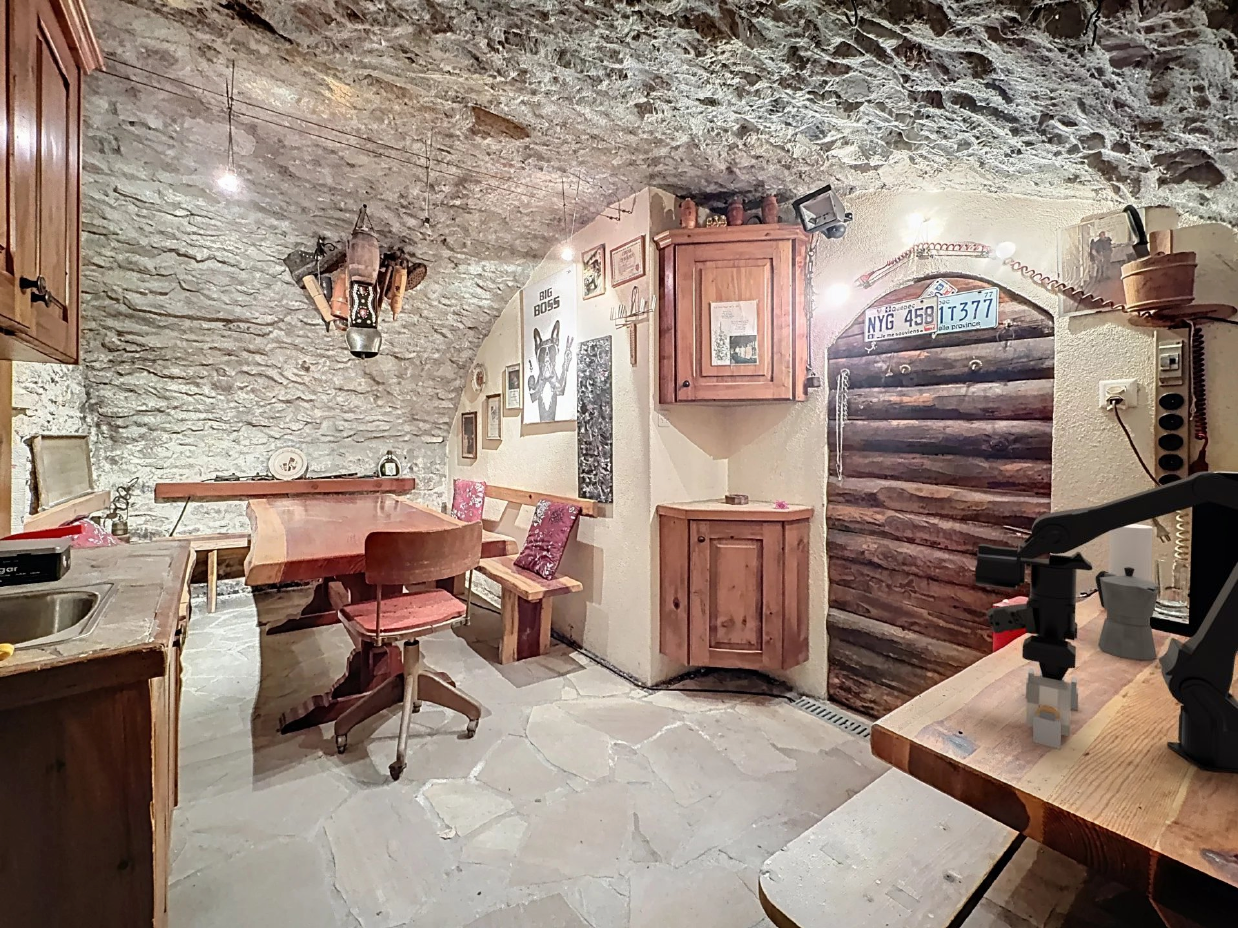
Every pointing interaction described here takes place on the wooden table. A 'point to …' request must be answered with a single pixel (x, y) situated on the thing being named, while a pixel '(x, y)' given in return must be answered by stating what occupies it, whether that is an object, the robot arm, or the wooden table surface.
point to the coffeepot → (1127, 615)
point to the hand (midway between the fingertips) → (1050, 691)
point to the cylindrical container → (1131, 551)
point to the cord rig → (1050, 718)
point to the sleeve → (1049, 699)
